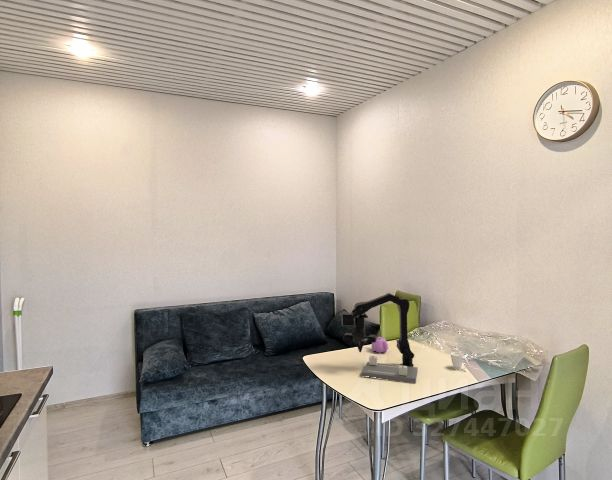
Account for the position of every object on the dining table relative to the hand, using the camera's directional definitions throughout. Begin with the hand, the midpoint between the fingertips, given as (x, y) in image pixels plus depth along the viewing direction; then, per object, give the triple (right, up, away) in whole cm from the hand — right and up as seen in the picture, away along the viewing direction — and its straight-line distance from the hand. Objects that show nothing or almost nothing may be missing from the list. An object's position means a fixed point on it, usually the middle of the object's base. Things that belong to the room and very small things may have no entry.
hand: (360, 352), depth 212 cm
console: (+15, -9, -11) cm, 20 cm away
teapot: (+16, -8, +28) cm, 33 cm away
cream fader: (+7, -6, -2) cm, 10 cm away
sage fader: (+20, -6, -18) cm, 28 cm away
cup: (+55, -8, -5) cm, 56 cm away
